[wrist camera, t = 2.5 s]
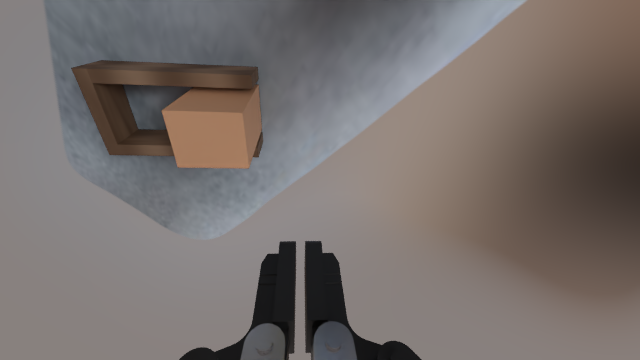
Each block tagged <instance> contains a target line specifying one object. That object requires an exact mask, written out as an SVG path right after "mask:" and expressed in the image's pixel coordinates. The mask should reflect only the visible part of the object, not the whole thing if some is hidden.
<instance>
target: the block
mask: <svg viewBox="0 0 640 360" xmlns="http://www.w3.org/2000/svg"><path fill="white" fill-rule="evenodd" d="M162 114H163V117H164V121H165V124H166V128H167V131H168V135H169V138H170V142H171V145H172V149H173V152H174V155H175V159H176V162H177V166H178V168H249V167H250V164H251V161H252V158H253V154H254V151H255V148H256V145H257V142H258V139H259V136H260V133H261V130H262V124H261V111H260V98H259V85H256V84H255V86H254V87H253V89H240V88H212V87H193V88H192V89H190V90H189V91H188V92H186V93H185V94H184V95H182V96H181V97H179V98H178V99H177V100H175V101H174V102H173V103H171V104H170V105H168V106H167V107H166V108H164V109H163V110H162Z"/></svg>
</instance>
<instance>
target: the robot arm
mask: <svg viewBox="0 0 640 360" xmlns="http://www.w3.org/2000/svg"><path fill="white" fill-rule="evenodd" d="M295 286H296V242H295V241H291V242H290V241H287V242H280V245H279V254H267V256H266V257H265V259H264V261H263V262H262V264H261V270H260V277H259V283H258V289H257V295H256V302H255V308H254V315H253V321H252V325H251V327H250V329H249V331H248V333H247V334H246V335H245V336H244V338H243V339H241V340H240V341H239V342H237V343H236V344H233V345H231V346H229V347H226V348H224V349H221V350H219V351H216V352H214V351H212V350H211V349H208V348H196V349H193V350H191V351H189V352H188V353H186V354H185V355H184V356H182V357H181V358H180V359H179V360H289V354H292V353H294V337H295ZM305 336H306V337H305V338H306V339H305V341H306V353H311V360H421V359H420V358H419V357H418V356H417V355H416V354H415V353H414V352H413V351H412V350H411V349H410V348H409V347H408V346H407V345H405V344H403V343H401V342H397V341H389V342H386V343H384V344H383V345H380V344H377V343H374V342H371V341H368V340H365V339H363V338H361V337H359V336H358V335H357V334H356V333H355V332H354V331H353V330H352V329H351V327H350V325H349V323H348V320H347V315H346V308H345V302H344V294H343V288H342V281H341V275H340V267H339V262H338V260H337V259H336V257H335V256H334V254H333V253H322V244H321V241H305Z"/></svg>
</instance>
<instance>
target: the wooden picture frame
mask: <svg viewBox="0 0 640 360" xmlns="http://www.w3.org/2000/svg"><path fill="white" fill-rule="evenodd" d="M71 69H72V71H73V73H74V75H75V78H76V80H77V82H78V84H79V87H80V89H81V91H82V94H83V96H84V98H85V100H86V103H87V105H88V107H89V109H90V112H91V114H92V116H93V118H94V121H95V123H96V125H97V127H98V130H99V132H100V134H101V136H102V139H103V141H104V143H105V146H106V148H107V150H108V152H109V155H147V156H175V155H174V152H173V149H172V145H171V142H170V138H169V135H168V131H167V130H145V129H138V127H137V125H136V122H135V119H134V116H133V113H132V110H131V108H130V105H129V102H128V99H127V96H126V93H125V91H124V88H123V85H122V84H130V85H157V86H185V87H212V88H240V89H253V87H254V86H255V84H256V82H257V81H258V67H244V66H221V65H197V64H174V63H151V62H128V61H104V60H101V61H97V62H93V63H89V64H85V65H81V66H77V67H73V68H71ZM262 144H263V134H262V132H261V133H260V136H259V139H258V142H257V145H256V148H255V151H254V154H253V157H259V154H260V151H261V147H262Z"/></svg>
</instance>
